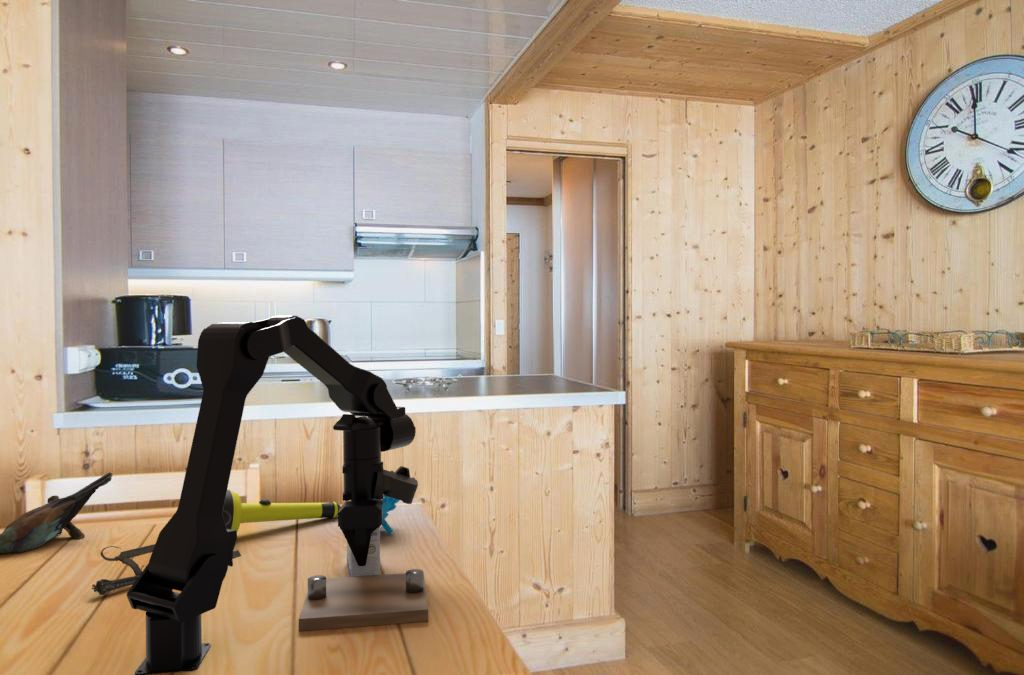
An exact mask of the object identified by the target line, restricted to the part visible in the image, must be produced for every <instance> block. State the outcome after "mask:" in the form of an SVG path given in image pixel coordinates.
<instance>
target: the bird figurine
mask: <svg viewBox="0 0 1024 675" xmlns="http://www.w3.org/2000/svg"><path fill="white" fill-rule="evenodd" d="M112 477H113V472H107V473H106V474H104V475H102V476H101V477H99V478H97V479H96V480H94V481H93V482H91V483H89V484H88V485H85V487H83V488H81V489H79V490H77V491H76V492H75V493H73V494H70V495H67V496H65V497H61V498H60V497H59V495H51V496H50V497H48V498H47V503H44V504H43V505H41V506H38V507H36V508H33V509H30V510H29V511H26V512H24V513H22V514H21V515H20V516H19V517H17V518H16V519H13V521H11V523H9V524H8V525H7V526H6V527H5V528H4V529H3V531H2V532H1V533H0V554H11V553H14V554H15V553H16V554H17V553H24V552H29V551H31V550H34V549H35V550H36V549H37V548H40V547H41V546H43V545H44V544H45V543H47V542H48V541H50V540H52V539H53V538H54V537H55V536H58V534H60V535H62V534H63V531H64V530H65V532H67V534H68V536H69V537H70V538H72V539H75V540H80V539H83V538H85V536H86V535H85V534H84V533H83V531H82V530H81V529H80V528H78V527H77V526H76V525H75V524H73V523H72V520H73V519H74V518H75V517H76V516H77V515H78V514H79V512H80V511H81V510H82V509H83V507H84V506H85V505H86V504H87V503H88V501H89V500H90V499H91V497H92V495H94V494H95V492H97V490H98V489H99V488H100V487H103V486H106V485H107V484H109V483H110V482H111V481H112ZM61 533H62V534H61Z"/></svg>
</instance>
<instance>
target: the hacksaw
mask: <svg viewBox="0 0 1024 675" xmlns="http://www.w3.org/2000/svg"><path fill="white" fill-rule="evenodd" d="M223 512H225V513H226V514H227V515H228V516H229V521H228V522H227V523H226V524H225V526H227V525H228V524H229V523H230V521H231V515H230V514H229V513H228V512H227V511H226V510H223ZM155 544H156V543H154V544H149V545H145V546H142V547H137V548H132V549H128V550H123V551H120V553H119V554H118V555H117V556H115V557H112V558H111V557H106V555H104V550H106V549H108V548H116V549H120V547H119V546H115V545H111V546H106V547H104V548H103V549H102V550H100V556H101V557H102V559H103V560H105V561H108V562H121V563H122V564H123V565H126V566H128V567H129V568H131V569H132V571H133V572H134V576H129V577H123V578H117V579H105V578H101V579H100V580H97V581H96V583H95V584H92V585H91V589H92V590H93V592H94V593H98V594H99V595H100V596H103V595H106V594H107V593H108V592H111V591H115V590H117V589H122V588H125V587H130V586H132V585H133V584H134V583H135V581H136V580H137V578H138V577H139V576H140V574H141V573H142V572H143V568H144V566H145V565H142V566H141V567H140V566H139V564H138V563H137V562H136V561H134V560H133V559H132V558H135V557H140V556H144V555H147V554H152V552H153V549H154V546H155ZM241 556H242V555H241V553H240V551H239V549H237V550H233V556H232V560H234V559H236V558H237V557H241Z"/></svg>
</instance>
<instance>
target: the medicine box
mask: <svg viewBox="0 0 1024 675" xmlns="http://www.w3.org/2000/svg"><path fill="white" fill-rule="evenodd" d="M346 563H347V568H348V572H349V577H355V576H370V575H381V572H380V571H381V526H380V527H379V528H377V529H376V530H375V531H374V532H373V533H372V535H371V540H370V545H369V550H368V556H367V561H366V565H365V566H358V564H357V562H356V560H355V558H354V555H353V553H352V551H351V549H350V547H349V544H348V542H347V541H346Z"/></svg>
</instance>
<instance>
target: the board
mask: <svg viewBox="0 0 1024 675" xmlns="http://www.w3.org/2000/svg"><path fill="white" fill-rule="evenodd" d="M304 598H305V599H304V601H303V604H302V608H301V611H300V613H299V617H298V632H302V631H303V632H304V631H306V632H307V631H317V630H318V631H320V630H328V629H329V630H331V629H343V628H357V627H369V626H383V625H394V624H396V625H397V624H407V623H408V624H410V623H420V622H421V623H423V622H429V605H428V597H427V590H426V582H425V574H424V570H423V569H419V568H414V569H413V568H412V569H408V570H406V571H405V572H404V573H402V572H401V573H389V574H388V573H387V574H380V575H370V576H355V577H350V576H342V577H341V576H340V577H327V576H325V575H323V574H321V575H320V574H319V575H312V576H309V577H308V578H307V592H306V595H305V597H304Z"/></svg>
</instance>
